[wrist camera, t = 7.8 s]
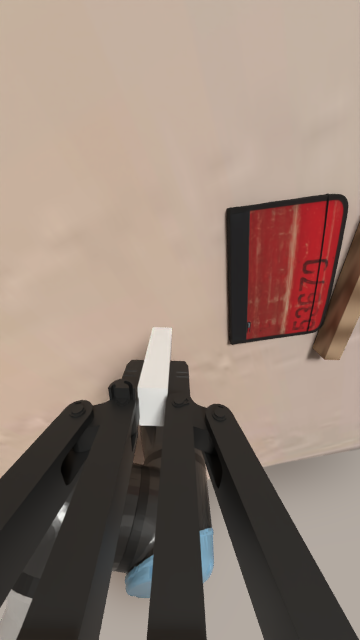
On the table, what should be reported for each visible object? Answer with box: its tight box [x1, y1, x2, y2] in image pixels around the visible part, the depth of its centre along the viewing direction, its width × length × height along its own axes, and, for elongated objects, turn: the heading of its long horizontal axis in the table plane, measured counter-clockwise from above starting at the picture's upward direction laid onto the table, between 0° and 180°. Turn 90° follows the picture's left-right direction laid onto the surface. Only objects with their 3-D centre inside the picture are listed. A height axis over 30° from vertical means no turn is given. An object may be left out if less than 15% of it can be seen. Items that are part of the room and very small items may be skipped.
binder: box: [227, 194, 348, 345], centre depth 32 cm, size 16×2×21 cm
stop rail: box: [313, 223, 360, 360], centre depth 31 cm, size 23×2×4 cm, turn 178°
